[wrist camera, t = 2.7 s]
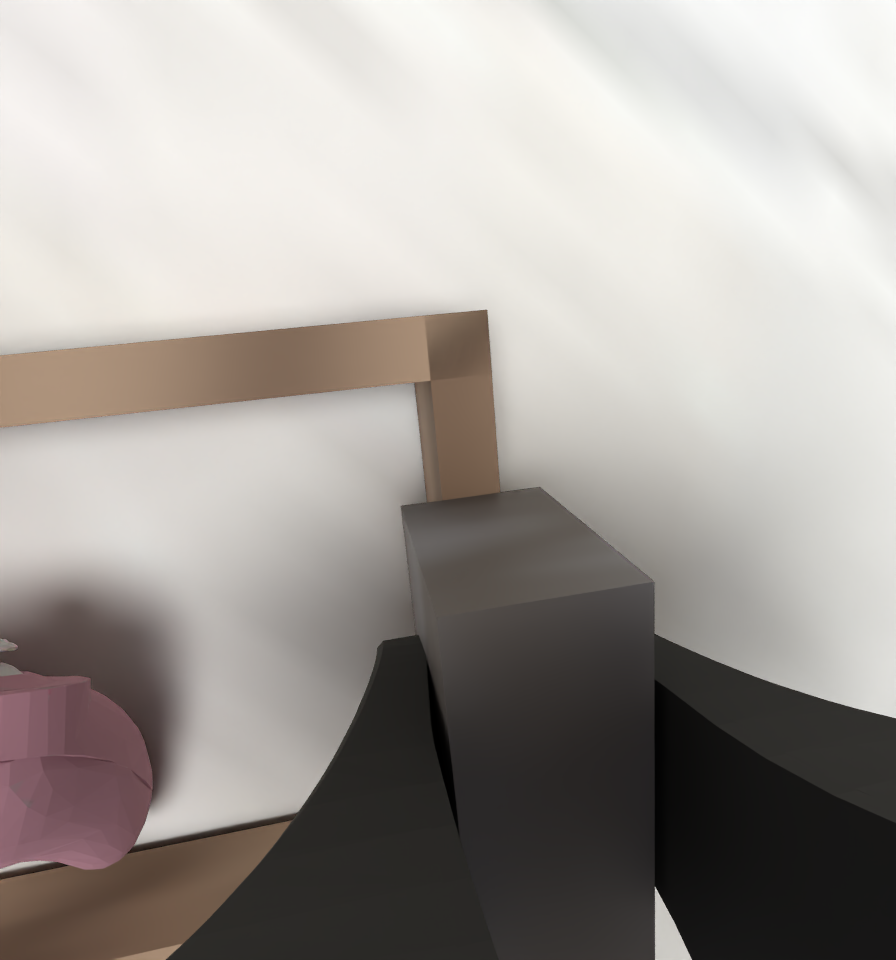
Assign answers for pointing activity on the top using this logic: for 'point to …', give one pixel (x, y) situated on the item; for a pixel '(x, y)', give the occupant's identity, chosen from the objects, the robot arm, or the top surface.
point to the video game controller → (67, 772)
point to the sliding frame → (447, 644)
